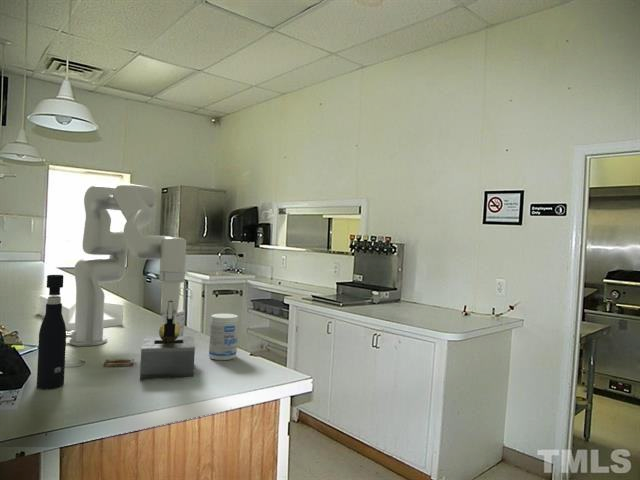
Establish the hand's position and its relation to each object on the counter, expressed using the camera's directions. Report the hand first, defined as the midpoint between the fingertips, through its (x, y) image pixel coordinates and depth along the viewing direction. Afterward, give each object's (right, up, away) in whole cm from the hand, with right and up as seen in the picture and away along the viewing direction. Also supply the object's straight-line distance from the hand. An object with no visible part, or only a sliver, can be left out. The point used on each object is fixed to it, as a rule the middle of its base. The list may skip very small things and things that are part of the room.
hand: (169, 335), depth 139 cm
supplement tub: (+13, -12, +18) cm, 25 cm away
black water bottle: (-26, -10, -18) cm, 33 cm away
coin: (-3, +2, -1) cm, 4 cm away
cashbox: (-1, -11, 0) cm, 11 cm away
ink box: (-11, -10, +38) cm, 41 cm away
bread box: (-65, -8, +69) cm, 95 cm away
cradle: (-18, -10, +4) cm, 21 cm away
